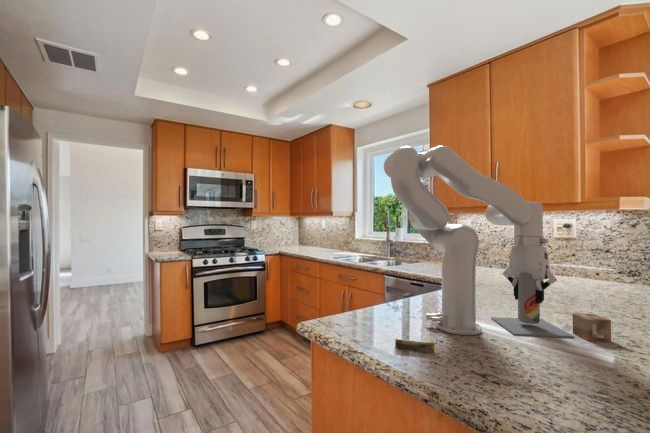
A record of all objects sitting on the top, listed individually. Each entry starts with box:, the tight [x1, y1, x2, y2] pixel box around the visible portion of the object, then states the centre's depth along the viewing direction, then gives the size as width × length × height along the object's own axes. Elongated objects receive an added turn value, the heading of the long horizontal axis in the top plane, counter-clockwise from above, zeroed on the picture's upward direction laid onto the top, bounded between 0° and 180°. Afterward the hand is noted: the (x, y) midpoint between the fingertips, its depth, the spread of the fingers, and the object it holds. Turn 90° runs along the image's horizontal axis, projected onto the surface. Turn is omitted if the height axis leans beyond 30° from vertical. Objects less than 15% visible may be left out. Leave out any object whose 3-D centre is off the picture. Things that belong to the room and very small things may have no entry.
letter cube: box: [571, 312, 612, 343], centre depth 90 cm, size 6×6×6 cm
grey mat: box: [490, 316, 575, 339], centre depth 99 cm, size 16×16×1 cm
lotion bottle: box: [517, 272, 541, 324], centre depth 99 cm, size 6×6×20 cm
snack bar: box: [394, 338, 436, 355], centre depth 79 cm, size 10×2×3 cm, turn 73°
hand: (528, 300), depth 99 cm, fingers closed on lotion bottle, 5 cm apart
